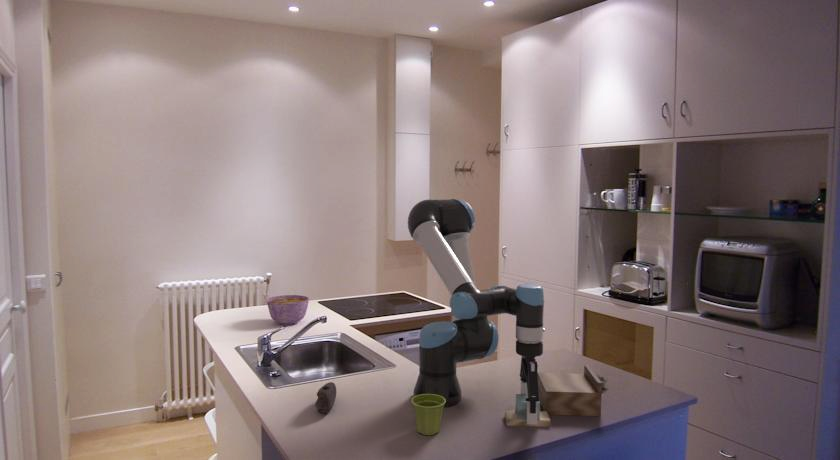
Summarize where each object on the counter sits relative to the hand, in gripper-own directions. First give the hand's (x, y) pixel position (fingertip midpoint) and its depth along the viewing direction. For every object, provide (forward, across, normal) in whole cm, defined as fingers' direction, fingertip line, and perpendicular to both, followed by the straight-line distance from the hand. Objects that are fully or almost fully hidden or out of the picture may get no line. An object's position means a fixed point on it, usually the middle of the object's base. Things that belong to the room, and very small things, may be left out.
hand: (528, 413), depth 155 cm
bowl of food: (0, +102, +100) cm, 143 cm away
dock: (+2, +13, -14) cm, 19 cm away
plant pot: (+2, -8, +28) cm, 29 cm away
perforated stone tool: (+2, +6, +59) cm, 60 cm away
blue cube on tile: (+3, 0, 0) cm, 3 cm away
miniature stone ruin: (+3, +29, -24) cm, 38 cm away
